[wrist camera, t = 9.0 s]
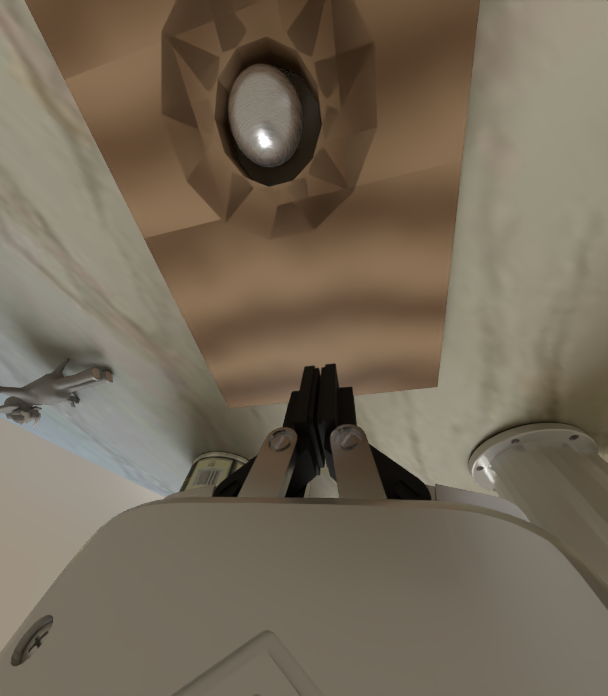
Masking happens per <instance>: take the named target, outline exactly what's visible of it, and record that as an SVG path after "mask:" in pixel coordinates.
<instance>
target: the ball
mask: <svg viewBox="0 0 608 696" xmlns="http://www.w3.org/2000/svg"><path fill="white" fill-rule="evenodd" d="M228 116H229V123H230V127H231V131H232V134H233V137H234V139H235V141H236V143H237V145H238V147H239V148H240V150H241V151H242V152H243V154H244V155H245V156H246V157H247V158H248V159H250V160H251V161H252V162H254V163H256V164H258V165H260V166H263V167H276V166H279V165H282V164H284V163H285V162H286V161H287V160H289V159H290V158H291V157H292V155H293V154H294V152H295V151H296V149H297V147H298V145H299V142H300V139H301V135H302V129H303V115H302V107H301V103H300V99H299V97H298V94H297V92H296V90H295V88H294V86H293V84H292V83H291V81H290V80H289V79H288V77H287V76H286V75H285V74H284V73H283V72H281V71H280V70H279V69H277V68H276V67H273V66H271V65H268V64H255V65H252V66H250V67H248V68H246V69H245V70H244V71H242V72H241V73H240V75H239V76H238V77H237V79H236V80H235V82H234V84H233V86H232V89H231V93H230V97H229V104H228Z"/></svg>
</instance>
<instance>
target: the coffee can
mask: <svg viewBox="0 0 608 696" xmlns="http://www.w3.org/2000/svg"><path fill="white" fill-rule="evenodd" d="M247 462H248V460H247V459H245V458H243V457H241V456H238V455H235V454H232V453H228V452H209V453H205V454H202V455H200V456H199V457H197V458H196V459H195V460H194V462H193V464H192V467H191V469H190V471H189V473H188V475H187V477H186V479H185V481H184V483H183V485H182V487H181V489H180V491H179V492H182V491H186V490H190V489H194V488H199V487H203V486H207V485H211V484H215V485H216V486H218V485H219V484H220V483H221V482H222V481H223V480H224V479H225V478H227V477H228V476H230V475H231V474H232V473H234V472H235V471H236V470H238V469H239V468H240V467H242V466H243V465H244V464H246V463H247Z"/></svg>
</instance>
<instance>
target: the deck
mask: <svg viewBox="0 0 608 696" xmlns="http://www.w3.org/2000/svg"><path fill="white" fill-rule="evenodd" d="M25 2H26V4H27V6H28V8H29V10H30V12H31V14H32V16H33V18H34V20H35V22H36V24H37V26H38V28H39V30H40V32H41V34H42V36H43V38H44V40H45V42H46V44H47V46H48V48H49V50H50V52H51V54H52V56H53V58H54V60H55V62H56V64H57V66H58V68H59V70H60V72H61V74H62V76H63V78H64V80H65V82H66V84H67V86H68V88H69V90H70V92H71V94H72V96H73V98H74V100H75V102H76V104H77V106H78V108H79V110H80V112H81V114H82V116H83V118H84V120H85V122H86V124H87V126H88V128H89V130H90V132H91V134H92V136H93V138H94V140H95V142H96V144H97V146H98V148H99V150H100V152H101V154H102V156H103V158H104V160H105V162H106V164H107V166H108V168H109V170H110V172H111V174H112V176H113V178H114V180H115V182H116V184H117V186H118V188H119V190H120V192H121V194H122V196H123V198H124V200H125V202H126V204H127V206H128V208H129V210H130V212H131V214H132V216H133V218H134V220H135V222H136V224H137V226H138V228H139V230H140V231H141V233H142V235H143V237H144V239H145V241H146V243H147V245H148V247H149V249H150V251H151V253H152V255H153V257H154V259H155V261H156V263H157V265H158V267H159V269H160V271H161V273H162V275H163V277H164V279H165V281H166V283H167V285H168V287H169V289H170V291H171V293H172V295H173V297H174V299H175V301H176V303H177V305H178V307H179V309H180V311H181V313H182V315H183V317H184V319H185V321H186V323H187V325H188V327H189V329H190V331H191V333H192V335H193V337H194V339H195V341H196V343H197V345H198V347H199V349H200V351H201V353H202V355H203V357H204V359H205V361H206V363H207V365H208V367H209V369H210V371H211V373H212V375H213V377H214V379H215V381H216V383H217V385H218V387H219V389H220V391H221V393H222V395H223V397H224V399H225V401H226V403H227V405H228V407H229V408H238V407H247V406H257V405H267V404H276V403H286V402H289V400H290V396H291V393H292V391H299V390H300V385H301V380H302V375H303V371H304V367H305V366H314V365H315V368H319V370H320V375H321V368H322V367H325V364H334V363H335V364H336V369H337V375H338V382H339V387H352V388H353V396H354V395H364V394H373V393H383V392H393V391H402V390H412V389H422V388H432V387H437V386H438V377H439V368H440V359H441V350H442V341H443V331H444V322H445V313H446V304H447V295H448V286H449V277H450V268H451V258H452V249H453V240H454V231H455V222H456V213H457V204H458V195H459V185H460V176H461V167H462V158H463V149H464V140H465V131H466V122H467V113H468V103H469V94H470V85H471V76H472V67H473V58H474V49H475V40H476V30H477V21H478V12H479V3H480V0H25ZM255 64H268V65H271V66H273V65H278V66H280V67H282V68H284V69H286V70H289V71H291V72H293V73H295V74H297V75H300V76H301V77H302V78H303V80H304V81H305V83H306V85H307V86H308V88H309V90H310V91H311V93H312V94H313V96H314V98H315V99H316V101H317V102H318V106H319V114H320V122H321V130H320V134H319V138H318V141H317V145H316V149H315V152H314V156H313V159H312V160H311V161H310V162H309V163H308V164H307V166H306V167H305V168H304V169H303V170H302V171H301V172H300V173H299V175H298V176H297V177H296V178H295V179H294V180H293V181H289V182H286V183H282V184H278V185H274V186H270V187H268V186H266V185H263V184H260V183H258V182H255V181H254V180H253V178H252V177H251V176H250V175H249V173H248V172H247V171H246V170H245V168H244V167H243V166H242V165H241V163H240V162H239V161H238V158H237V154H236V151H235V147H234V143H233V140H232V136H231V132H230V128H231V127H230V123H229V116H228V104H229V97H230V93H231V89H232V86H233V84H234V82H235V80H236V79H237V77H238V76H239V75H240V73H241V72H242V71H244V70H245V69H246V68H248V67H250V66H252V65H255Z"/></svg>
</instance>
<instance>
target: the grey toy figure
mask: <svg viewBox="0 0 608 696" xmlns="http://www.w3.org/2000/svg"><path fill="white" fill-rule="evenodd" d="M68 360H69V359H67V360H66V361H64V362H63V363H62V364H61V365H60V366H59V367H58V368H57V369H56V370H55V371H54V372H52V373H50V374H46V375H44V376H43V377H41V378H39V379H37V380H36V381H34V382H32V383H30V384H28V385H26V386H24V387H22V388H15V387H2V386H0V393H4V394H7V395H10V396H12V397H9V398H7V399H6V400H5V402H4V405H2V406H0V413H5V414H6V416H7V418H8V419H13V420H14V421H15V422H17V423H20V424H21V426H22V425H23V424H24V423H28V422H30V421H32V420H34V419H35V422H34V426H36V425H37V423H38V422H39V420H40V417H41V414H40V413H39V412H38V411H39V410H41V409H42V408H39V407H37V406H34V407H32V406H33V405H43V404H45V405H53V404H57V403H60V402H63V401H64V402H69V403H71V405H72V407H73V408H74V407H75V405H74V403H75V404H79V403H78V402H79V401H78V400H79V399H78V398H77V397H75V396H71V394H72V392H74V391H77V390H81V389H84V388H88V387H92V386H95V385H98V384H102V383H106V382H108V383H112V382H113V377H112V374H111V373H110V372H109V371H108V370H107V371H104V372H101V373H99V370H98V369H97V368H96V367H92V368H90V369H87V370H85V371H82V372H80V373H78V374H75V375H72V376H67V377H64V376H63V374H62V371H63V369H64V367H65V365H66V363H67V362H68ZM34 426H33V427H34Z"/></svg>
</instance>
